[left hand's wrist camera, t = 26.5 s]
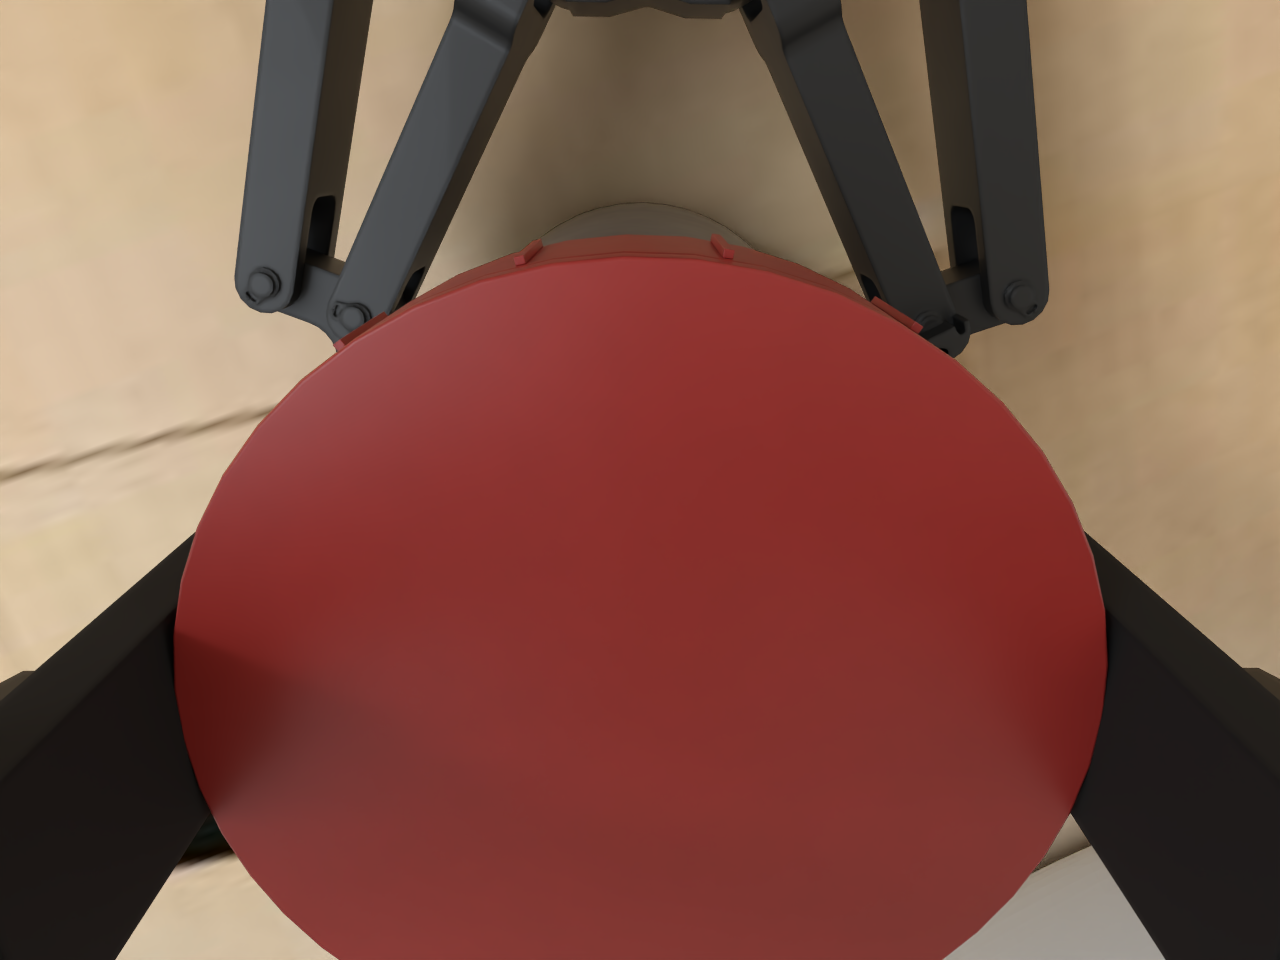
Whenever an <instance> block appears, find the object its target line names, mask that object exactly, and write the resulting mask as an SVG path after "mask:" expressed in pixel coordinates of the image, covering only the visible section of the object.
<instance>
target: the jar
mask: <svg viewBox="0 0 1280 960" xmlns="http://www.w3.org/2000/svg"><path fill="white" fill-rule="evenodd" d="M625 234H630V235H658V236H685V237H691V238H697V239H703V240H709V241H710V240H711V235H712V234H719V235H721V236H722V237H723V238H724V239H725V240H726V242H727V243H728V244H732V245H737V246H743V247H746V248H749V249H753V248H752V247H751V246H749V245H748V244H747V243H746V242H745V241H744V240H743V239H741V238H740V237H739V236H737V235H736V234H734V233H733V232H732V231H730V230H729V229H728V228H726V227H724V226H723V225H721V224H719V223H717V222H715V221H713V220H711V219H710V218H708V217H706V216H703V215H700V214H698V213H695V212H692V211H689V210H687V209H683V208H678V207H674V206H669V205H665V204H653V203H627V204H617V205H612V206H607V207H602V208H598V209H595V210H592V211H589V212H586V213H583V214H580V215H578V216H576V217H574V218H572V219H570V220H568V221H566V222H564V223H562V224H560V225H558V226H557V227H555V228H554V229H552V230H551V231H549V232H548V233H546V234H545V235H543V236H542V237H541V238H540V239H541V240H542V244H543V246H546V245H550V244H554V243H558V242H563V241H567V240H575V239H585V238H595V237H605V236H615V235H625ZM753 250H754V249H753Z"/></svg>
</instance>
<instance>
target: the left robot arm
mask: <svg viewBox="0 0 1280 960" xmlns="http://www.w3.org/2000/svg"><path fill="white" fill-rule="evenodd" d="M195 533H196V532H195ZM195 533H194V534H193V535H191V536H190V537H189V538H188V539H187V540H186V541H184V542H183V543H182V544H181V545H180V546H179V547H178V548H176V549H175V550H174V551H173V552H172V553H171V554H169V555H168V556H167V557H166V558H165V559H164V560H163V561H161V562H160V563H159V564H158V565H157V566H156V567H154V568H153V569H152V570H151V571H150V572H149V573H147V574H146V575H145V576H144V577H143V578H142V579H141V580H139V581H138V582H137V583H136V584H135V585H134V586H132V587H131V588H130V589H129V590H128V591H127V592H126V593H124V594H123V595H122V596H121V597H120V598H119V599H117V600H116V601H115V602H114V603H113V604H112V605H111V606H109V607H108V608H107V609H106V610H105V611H104V612H102V613H101V614H100V615H99V616H98V617H97V618H96V619H94V620H93V621H92V622H91V623H90V624H89V625H87V626H86V627H85V628H84V629H83V630H82V631H80V632H79V633H78V634H77V635H76V636H75V637H74V638H72V639H71V640H70V641H69V642H68V643H67V644H65V645H64V646H63V647H62V648H61V649H60V650H59V651H57V652H56V653H55V654H54V655H53V656H52V657H50V658H49V659H48V660H47V661H46V662H45V663H44V664H42V665H41V666H40V667H39V668H38V669H37V670H35V671H22V672H20V673H18V674H17V675H15V676H13V677H11V678H9V679H7V680H5V681H3V682H1V683H0V960H115V959H116V958H117V956H118V955H119V953H120V952H121V950H122V948H123V947H124V945H125V944H126V942H127V941H128V939H129V938H130V936H131V935H132V933H133V931H134V930H135V928H136V927H137V925H138V924H139V922H140V921H141V919H142V917H143V916H144V914H145V913H146V911H147V910H148V908H149V907H150V905H151V904H152V902H153V900H154V899H155V897H156V896H157V894H158V893H159V891H160V890H161V888H162V886H163V885H164V883H165V882H166V880H167V879H168V877H169V876H170V874H171V873H172V871H173V869H174V868H175V866H176V865H177V863H178V862H179V860H180V859H181V857H182V856H183V854H184V852H185V851H186V849H187V848H188V846H189V845H190V843H191V842H192V840H193V838H194V837H195V835H196V834H197V832H198V831H199V829H200V828H201V826H202V825H203V823H204V821H205V820H206V818H207V817H208V815H209V814H210V812H211V811H210V809H209V807H208V805H207V803H206V801H205V799H204V797H203V795H202V793H201V791H200V789H199V786H198V783H197V780H196V777H195V774H194V771H193V768H192V765H191V762H190V759H189V756H188V752H187V748H186V744H185V740H184V735H183V730H182V725H181V720H180V716H179V711H178V706H177V701H176V695H175V690H174V645H173V635H174V627H175V620H176V613H177V606H178V598H179V591H180V584H181V579H182V576H183V572H184V569H185V566H186V562H187V559H188V556H189V553H190V549H191V546H192V543H193V539H194V536H195ZM1084 533H1085V536H1086V538H1087V541H1088V543H1089V546H1090V548H1091V551H1092V554H1093V557H1094V561H1095V566H1096V571H1097V575H1098V580H1099V584H1100V589H1101V594H1102V598H1103V603H1104V608H1105V619H1106V638H1107V657H1108V669H1107V679H1106V688H1105V698H1104V706H1103V711H1102V717H1101V721H1100V726H1099V730H1098V734H1097V739H1096V743H1095V748H1094V752H1093V756H1092V760H1091V763H1090V767H1089V769H1088V772H1087V774H1086V776H1085V779H1084V781H1083V784H1082V786H1081V788H1080V791H1079V793H1078V796H1077V798H1076V800H1075V803H1074V805H1073V808H1072V810H1071V812H1070V813H1071V814H1072V816H1073V817H1074V819H1075V821H1076V822H1077V824H1078V825H1079V827H1080V828H1081V830H1082V831H1083V833H1084V835H1085V836H1086V838H1087V839H1088V841H1089V842H1090V844H1091V845H1092V847H1093V848H1094V850H1095V852H1096V853H1097V855H1098V856H1099V858H1100V859H1101V861H1102V862H1103V864H1104V865H1105V867H1106V869H1107V870H1108V872H1109V873H1110V875H1111V876H1112V878H1113V879H1114V881H1115V883H1116V884H1117V886H1118V887H1119V889H1120V890H1121V892H1122V893H1123V895H1124V896H1125V898H1126V900H1127V901H1128V903H1129V904H1130V906H1131V907H1132V909H1133V910H1134V912H1135V913H1136V915H1137V917H1138V918H1139V920H1140V921H1141V923H1142V924H1143V926H1144V927H1145V929H1146V931H1147V932H1148V934H1149V935H1150V937H1151V938H1152V940H1153V941H1154V943H1155V944H1156V946H1157V948H1158V949H1159V951H1160V952H1161V954H1162V955H1163V957H1164V958H1165V960H1280V679H1279V678H1277V677H1275V676H1273V675H1271V674H1269V673H1267V672H1265V671H1263V670H1261V669H1259V668H1242V667H1241V666H1239V665H1238V664H1237V663H1236V662H1235V661H1234V660H1233V659H1231V658H1230V657H1229V656H1228V655H1227V654H1226V653H1224V652H1223V651H1222V650H1221V649H1220V648H1219V647H1217V646H1216V645H1215V644H1214V643H1213V642H1212V641H1211V640H1209V639H1208V638H1207V637H1206V636H1205V635H1204V634H1202V633H1201V632H1200V631H1199V630H1198V629H1197V628H1196V627H1194V626H1193V625H1192V624H1191V623H1190V622H1189V621H1187V620H1186V619H1185V618H1184V617H1183V616H1182V615H1181V614H1179V613H1178V612H1177V611H1176V610H1175V609H1174V608H1172V607H1171V606H1170V605H1169V604H1168V603H1167V602H1165V601H1164V600H1163V599H1162V598H1161V597H1160V596H1159V595H1157V594H1156V593H1155V592H1154V591H1153V590H1152V589H1150V588H1149V587H1148V586H1147V585H1146V584H1145V583H1144V582H1142V581H1141V580H1140V579H1139V578H1138V577H1137V576H1135V575H1134V574H1133V573H1132V572H1131V571H1130V570H1129V569H1127V568H1126V567H1125V566H1124V565H1123V564H1122V563H1120V562H1119V561H1118V560H1117V559H1116V558H1115V557H1113V556H1112V555H1111V554H1110V553H1109V552H1108V551H1107V550H1105V549H1104V548H1103V547H1102V546H1101V545H1100V544H1098V543H1097V542H1096V541H1095V540H1094V539H1093V538H1092V537H1090V536H1089V535H1088V534H1087V533H1086V532H1085V531H1084Z"/></svg>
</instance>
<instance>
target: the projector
mask: <svg viewBox="0 0 1280 960" xmlns="http://www.w3.org/2000/svg"><path fill="white" fill-rule="evenodd" d="M943 960H1165V958H1164V957H1163V955H1162V954H1161V952H1160V951H1159V949H1158V948H1157V946H1156V944H1155V943H1154V941H1153V940H1152V938H1151V937H1150V935H1149V934H1148V932H1147V931H1146V929H1145V927H1144V926H1143V924H1142V923H1141V921H1140V920H1139V918H1138V917H1137V915H1136V913H1135V912H1134V910H1133V909H1132V907H1131V906H1130V904H1129V903H1128V901H1127V900H1126V898H1125V896H1124V895H1123V893H1122V892H1121V890H1120V889H1119V887H1118V886H1117V884H1116V883H1115V881H1114V879H1113V878H1112V876H1111V875H1110V873H1109V872H1108V870H1107V869H1106V867H1105V865H1104V864H1103V862H1102V861H1101V859H1100V858H1099V856H1098V855H1097V853H1096V852H1095V850H1094V848H1093V847H1092V845H1091V846H1089V847H1087V848H1085V849H1083V850H1080V851H1078V852H1076V853H1074V854H1071V855H1069V856H1067V857H1065V858H1063V859H1060V860H1058V861H1056V862H1054V863H1052V864H1050V865H1048V866H1046V867H1044V868H1042V869H1040V870H1038V871H1036V872H1034V873H1032V874H1030V876H1029V877H1028V878H1027V880H1026V881H1025V882H1024V883H1023V885H1022V886H1021V887H1020V889H1019V890H1018V891H1017V892H1016V894H1015V895H1014V896H1013V897H1012V898H1011V899H1010V900H1009V901H1008V902H1007V903H1006V904H1005V905H1004V906H1003V907H1002V908H1001V909H1000V910H999V911H998V912H997V913H996V914H995V915H994V916H993V917H992V918H991V919H990V920H989V921H988V922H987V923H986V924H985V925H984V926H983V927H982V928H981V929H980V930H979V931H978V932H977V933H976V934H975V935H973V936H972V937H971V938H970V939H968V940H967V941H966V942H964V943H963V944H962V945H961V946H959V947H958V948H957V949H956V950H954V951H953V952H952V953H951V954H949V955H948V956H947V957H945V958H944V959H943Z"/></svg>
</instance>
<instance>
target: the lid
mask: <svg viewBox="0 0 1280 960" xmlns="http://www.w3.org/2000/svg"><path fill="white" fill-rule="evenodd" d="M922 328H923V326H921V325H920V324H918V323H917V322H915V321H914V320H912V319H911V318H909V317H908V316H906V315H904V314H903V313H901V312H900V311H898V310H896V309H895V308H893V307H892V306H890V305H889V304H887V303H885V302H884V301H882V300H881V299H879V298H878V297H876V296H875V297H874V298H873V300H872V301H871V303H870V302H869V301H867V300H866V299H864V298H863V297H861V296H860V295H858V294H857V293H855V292H854V291H852V290H851V289H849V288H847V287H845V286H843V285H841V284H839V283H837V282H835V281H833V280H831V279H828V278H826V277H824V276H822V275H820V274H818V273H816V272H814V271H812V270H810V269H808V268H805V267H803V266H801V265H799V264H797V263H793V262H790V261H787V260H784V259H781V258H778V257H775V256H771V255H768V254H765V253H762V252H759V251H756V250H753V249H749V248H746V247H743V246H737V245H732V244H728V243H727V242H726V240H725V239H724V238H723V237H722V236H721V235H719V234H712V235H711V240H710V241H709V240H703V239H697V238H691V237H685V236H658V235H630V234H625V235H615V236H605V237H595V238H585V239H575V240H567V241H563V242H558V243H554V244H550V245H546V246H543V244H542V240H541V239H538V240H534V241H532V242H531V243H530V244H529V245H527V246H526V247H525V248H524V249H523V250H522V251H520V252H517V253H513V254H509V255H507V256H504V257H502V258H499V259H497V260H494V261H492V262H489V263H486V264H484V265H481V266H479V267H476V268H474V269H471V270H469V271H466V272H463V273H461V274H458V275H456V276H455V277H453V278H451V279H449V280H448V281H446V282H444V283H442V284H440V285H439V286H437V287H435V288H433V289H432V290H430V291H428V292H426V293H424V294H423V295H421V296H419V297H417V298H416V299H414V300H412V301H410V302H409V303H407V304H406V305H404V306H403V307H401V308H400V309H398V310H397V311H395V312H394V313H392V314H391V315H389V316H388V315H387V314H386V313H385V312H382V313H380V314H379V315H377V316H376V317H374V318H373V319H371V320H369V321H368V322H366V323H365V324H363V325H362V326H360V327H358V328H357V329H355V330H354V331H352V332H351V333H349V334H347V335H346V336H344V337H343V338H341V339H340V340H338V341H337V342H336V343H334V344H333V346H334V347H335V348H336V349H337V351H338V352H336V353H335V354H334V355H332V356H331V357H330V358H329V359H327V360H326V361H325V362H323V363H322V364H321V365H319V366H318V367H317V368H316V369H314V370H313V371H312V372H310V373H309V374H308V375H306V376H305V377H304V378H303V379H301V380H300V381H299V383H298V384H297V385H296V386H295V387H294V388H293V389H292V390H291V391H290V392H289V393H288V394H287V395H286V396H285V397H284V398H283V399H282V400H281V401H280V402H279V403H278V404H277V405H276V406H275V408H274V409H273V410H272V411H271V412H270V413H269V414H268V415H267V416H266V417H265V418H264V419H263V420H262V421H261V422H260V423H259V424H258V425H257V427H256V428H255V430H254V431H253V432H252V434H251V435H250V437H249V438H248V440H247V441H246V442H245V444H244V445H243V447H242V448H241V450H240V451H239V452H238V454H237V455H236V457H235V458H234V460H233V461H232V462H231V464H230V465H229V467H228V468H227V470H226V471H225V472H224V474H223V475H222V478H221V480H220V482H219V484H218V486H217V488H216V490H215V492H214V494H213V496H212V498H211V500H210V502H209V504H208V506H207V508H206V510H205V512H204V514H203V516H202V518H201V520H200V522H199V525H198V527H197V530H196V533H195V536H194V539H193V543H192V546H191V549H190V553H189V556H188V559H187V562H186V566H185V569H184V572H183V576H182V579H181V584H180V591H179V598H178V606H177V613H176V620H175V627H174V635H173V645H174V690H175V695H176V701H177V706H178V711H179V716H180V720H181V725H182V730H183V735H184V740H185V744H186V748H187V752H188V756H189V759H190V762H191V765H192V768H193V771H194V774H195V777H196V780H197V783H198V786H199V789H200V791H201V793H202V795H203V797H204V799H205V801H206V803H207V805H208V807H209V809H210V811H211V813H212V815H213V817H214V819H215V821H216V823H217V825H218V827H219V829H220V831H221V833H222V834H223V836H224V837H225V839H226V840H227V842H228V843H229V845H230V846H231V848H232V849H233V851H234V852H235V854H236V855H237V857H238V858H239V860H240V861H241V863H242V864H243V865H244V867H245V868H246V870H247V871H248V873H249V874H250V876H251V877H252V878H253V879H254V880H255V881H256V883H257V884H258V885H259V886H260V887H261V888H262V889H263V891H264V892H265V893H266V894H267V895H268V896H269V897H270V899H271V900H272V901H273V902H274V903H275V904H276V905H277V906H278V908H279V909H280V910H281V911H282V912H283V913H284V914H285V915H286V916H287V917H288V918H289V919H290V920H292V921H293V922H294V923H295V924H296V925H297V926H298V927H299V928H300V929H302V930H303V931H304V932H305V933H306V934H307V935H308V936H309V937H311V938H312V939H313V940H314V941H315V942H316V943H317V944H318V945H319V946H321V947H322V948H323V949H325V950H326V951H327V952H329V953H330V954H332V955H333V956H335V957H336V958H337V959H339V960H943V959H944V958H945V957H947V956H948V955H949V954H951V953H952V952H953V951H954V950H956V949H957V948H958V947H959V946H961V945H962V944H963V943H964V942H966V941H967V940H968V939H970V938H971V937H972V936H973V935H975V934H976V933H977V932H978V931H979V930H980V929H981V928H982V927H983V926H984V925H985V924H986V923H987V922H988V921H989V920H990V919H991V918H992V917H993V916H994V915H995V914H996V913H997V912H998V911H999V910H1000V909H1001V908H1002V907H1003V906H1004V905H1005V904H1006V903H1007V902H1008V901H1009V900H1010V899H1011V898H1012V897H1013V896H1014V895H1015V894H1016V892H1017V891H1018V890H1019V889H1020V887H1021V886H1022V885H1023V883H1024V882H1025V881H1026V880H1027V878H1028V877H1029V876H1030V874H1031V873H1032V872H1033V871H1034V869H1035V868H1036V867H1037V866H1038V864H1039V863H1040V862H1041V860H1042V859H1043V858H1044V857H1045V855H1046V853H1047V851H1048V850H1049V848H1050V846H1051V845H1052V843H1053V841H1054V840H1055V838H1056V836H1057V835H1058V833H1059V831H1060V829H1061V828H1062V826H1063V824H1064V823H1065V821H1066V819H1067V818H1068V816H1069V814H1070V812H1071V810H1072V808H1073V805H1074V803H1075V800H1076V798H1077V796H1078V793H1079V791H1080V788H1081V786H1082V784H1083V781H1084V779H1085V776H1086V774H1087V772H1088V769H1089V767H1090V763H1091V760H1092V756H1093V752H1094V748H1095V743H1096V739H1097V734H1098V730H1099V726H1100V721H1101V717H1102V711H1103V706H1104V698H1105V688H1106V679H1107V669H1108V657H1107V638H1106V619H1105V608H1104V603H1103V598H1102V594H1101V589H1100V584H1099V580H1098V575H1097V571H1096V566H1095V561H1094V557H1093V554H1092V551H1091V548H1090V546H1089V543H1088V541H1087V538H1086V536H1085V533H1084V530H1083V528H1082V525H1081V523H1080V520H1079V518H1078V515H1077V512H1076V510H1075V507H1074V505H1073V502H1072V500H1071V499H1070V497H1069V495H1068V494H1067V492H1066V490H1065V489H1064V487H1063V485H1062V483H1061V482H1060V480H1059V478H1058V477H1057V475H1056V473H1055V471H1054V470H1053V468H1052V466H1051V465H1050V463H1049V461H1048V459H1047V457H1046V456H1045V454H1044V453H1043V451H1042V450H1041V448H1040V447H1039V446H1038V445H1037V444H1036V442H1035V441H1034V440H1033V439H1032V437H1031V436H1030V435H1029V434H1028V433H1027V431H1026V430H1025V429H1024V428H1023V426H1022V425H1021V424H1020V423H1019V422H1018V420H1017V419H1016V418H1015V417H1014V415H1013V414H1012V413H1011V412H1010V411H1009V409H1008V408H1007V407H1006V406H1005V404H1004V403H1003V402H1002V401H1001V400H1000V399H998V398H997V397H996V396H995V395H994V394H993V393H992V392H991V391H990V390H988V389H987V388H986V387H985V386H984V385H983V384H982V383H981V382H980V381H979V380H977V379H976V378H975V377H974V376H973V375H972V374H971V373H970V372H969V371H967V370H966V369H965V368H964V367H963V366H962V365H961V364H960V363H959V362H957V361H956V360H955V359H954V358H952V357H951V356H949V355H948V354H946V353H945V352H943V351H942V350H940V349H939V348H937V347H936V346H934V345H933V344H931V343H930V342H929V341H927V340H926V339H924V338H923V337H921V336H920V335H918V333H919V332H920V331H921V329H922Z"/></svg>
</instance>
